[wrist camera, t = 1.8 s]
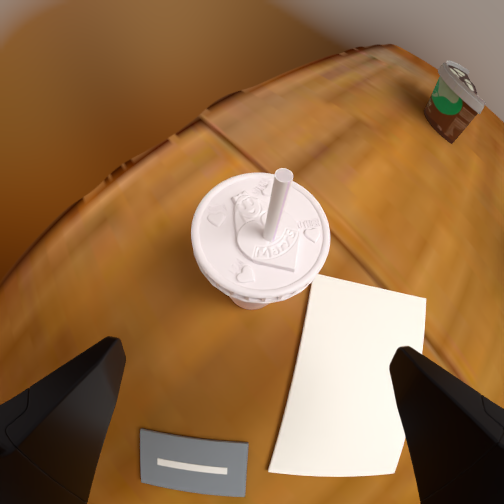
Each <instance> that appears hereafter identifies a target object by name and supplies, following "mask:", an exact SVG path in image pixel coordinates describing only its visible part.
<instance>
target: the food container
mask: <svg viewBox="0 0 504 504" xmlns="http://www.w3.org/2000/svg"><path fill="white" fill-rule="evenodd" d="M438 73H439V75H440V77H439V79H438V82H437V84H436V86H435V88H434V91H433V93H432V95H431V97H430V99H429V102H428V104H427V106H426V108H425V110H424V113H425V116H426V118H427V120H428V121H429V123H430V124H431V126H432V127H433V128H434V129H435V130H436V131H437V132H438V133H439V134H440V135H441V136H442V137H443V138H445V139H446V140H447V141H448V142H450V143H451V144H452V143H453V142H454V141H455V140H456V139H457V138H458V136H459V135H460V134H461V133H462V132H463V130H464V129H465V128H466V127H467V126H468V125H469V123H470V122H471V121H472V120H473V118H474V117H475V116H476V115H477V114H478V113H479V114H480V113H481V111H482V110H483V108H484V105H485V103H486V102H485V101H484V100H482V99H481V98H480V97H479V96H477V92H476V89H475V86H474V85H473V83H472V82H471V81H470V79H469V78H468V73H469V70H467V69H466V68H464V67H463V66H461V65H459V64H457V63H455V62H452V61H447V62H446V63H443V64H442V65H441V66H440V68H439V69H438Z"/></svg>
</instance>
